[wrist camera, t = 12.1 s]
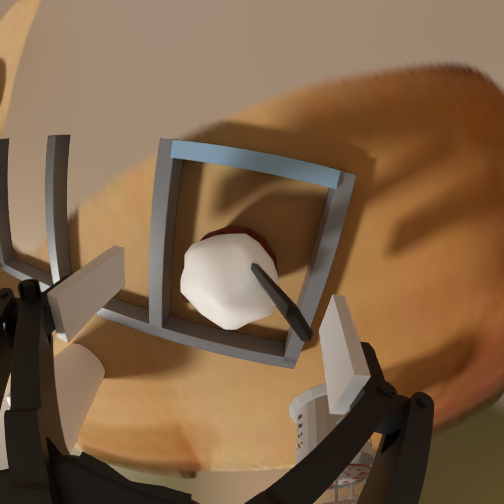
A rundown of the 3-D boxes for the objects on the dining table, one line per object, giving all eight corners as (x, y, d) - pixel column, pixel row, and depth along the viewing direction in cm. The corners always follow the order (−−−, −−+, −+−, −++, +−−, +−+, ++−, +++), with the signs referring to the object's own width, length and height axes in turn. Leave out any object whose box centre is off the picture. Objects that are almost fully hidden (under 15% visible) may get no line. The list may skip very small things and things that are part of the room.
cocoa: (200, 292, 23) (137, 400, 13) (181, 223, 21) (83, 308, 10) (312, 283, 21) (316, 412, 11) (304, 206, 19) (311, 301, 8)
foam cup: (62, 320, 27) (0, 383, 15) (120, 363, 28) (68, 443, 16) (59, 358, 31) (13, 414, 19) (108, 395, 32) (69, 459, 20)
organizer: (11, 264, 26) (-1, 271, 23) (4, 138, 20) (-10, 141, 17) (293, 354, 24) (293, 372, 22) (349, 172, 18) (358, 175, 16)
